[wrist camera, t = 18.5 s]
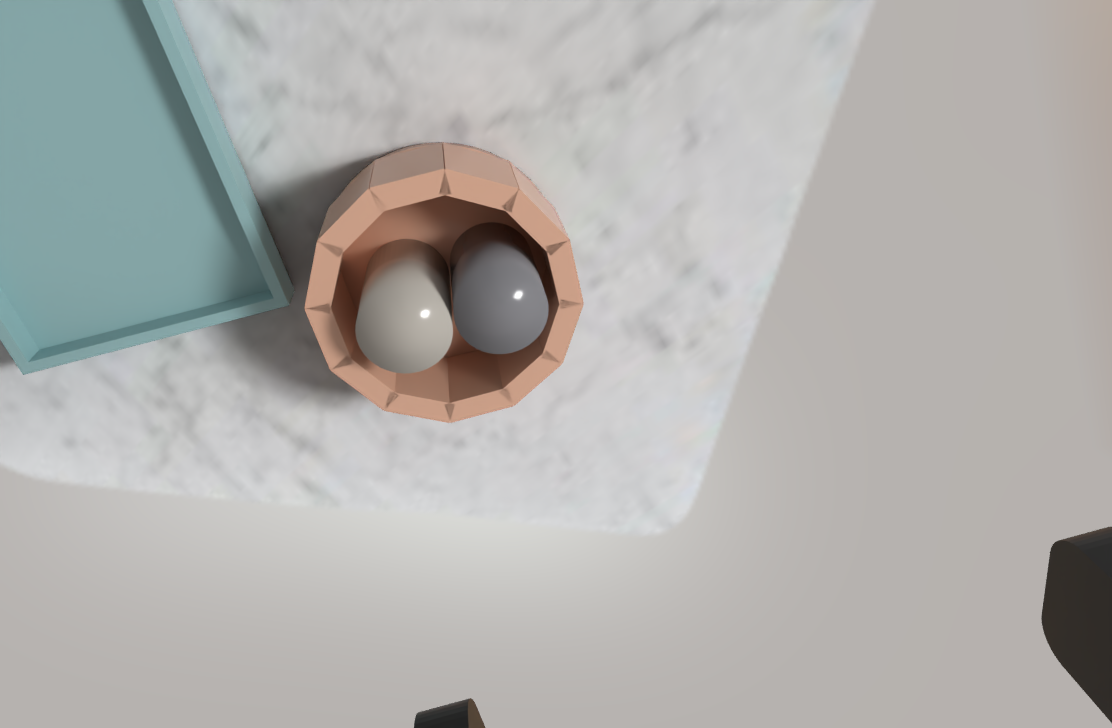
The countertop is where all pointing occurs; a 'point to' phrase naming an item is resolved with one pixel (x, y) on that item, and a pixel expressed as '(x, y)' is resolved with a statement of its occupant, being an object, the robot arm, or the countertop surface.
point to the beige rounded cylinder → (405, 307)
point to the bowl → (439, 219)
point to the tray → (118, 187)
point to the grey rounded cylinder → (496, 289)
